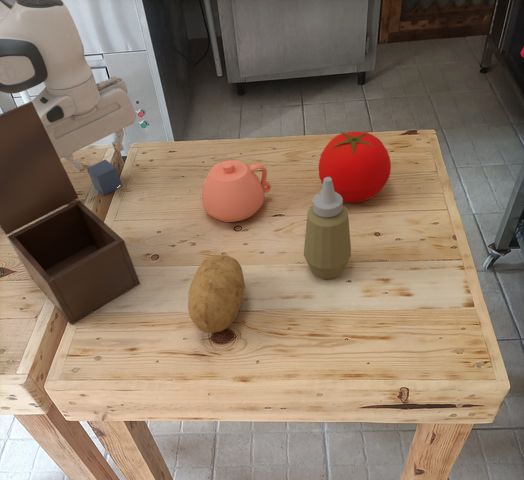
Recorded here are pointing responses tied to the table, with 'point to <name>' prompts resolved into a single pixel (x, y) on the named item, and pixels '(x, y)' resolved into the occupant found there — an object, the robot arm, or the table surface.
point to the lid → (29, 170)
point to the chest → (75, 260)
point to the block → (104, 177)
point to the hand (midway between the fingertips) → (99, 160)
